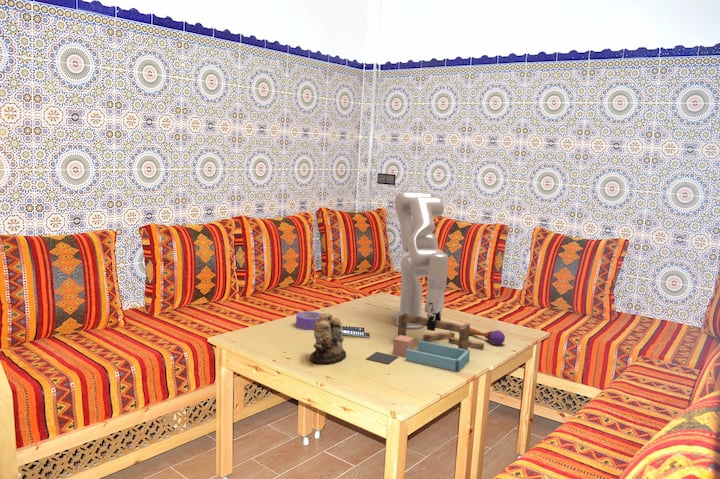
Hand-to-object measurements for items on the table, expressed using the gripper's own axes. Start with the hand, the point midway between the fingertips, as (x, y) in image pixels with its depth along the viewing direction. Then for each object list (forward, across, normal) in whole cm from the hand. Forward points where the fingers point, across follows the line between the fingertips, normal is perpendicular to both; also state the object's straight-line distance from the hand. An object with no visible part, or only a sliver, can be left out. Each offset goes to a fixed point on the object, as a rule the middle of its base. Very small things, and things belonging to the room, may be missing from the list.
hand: (433, 327), depth 230 cm
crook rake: (+7, 0, 0) cm, 7 cm away
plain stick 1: (+8, -10, -1) cm, 13 cm away
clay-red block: (+7, +15, -6) cm, 18 cm away
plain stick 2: (+8, -8, +12) cm, 16 cm away
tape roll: (+8, +7, -54) cm, 55 cm away
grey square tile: (+7, +25, -10) cm, 28 cm away
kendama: (+8, -21, +15) cm, 27 cm away
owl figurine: (+8, +36, -28) cm, 46 cm away
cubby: (+7, +15, +8) cm, 18 cm away
